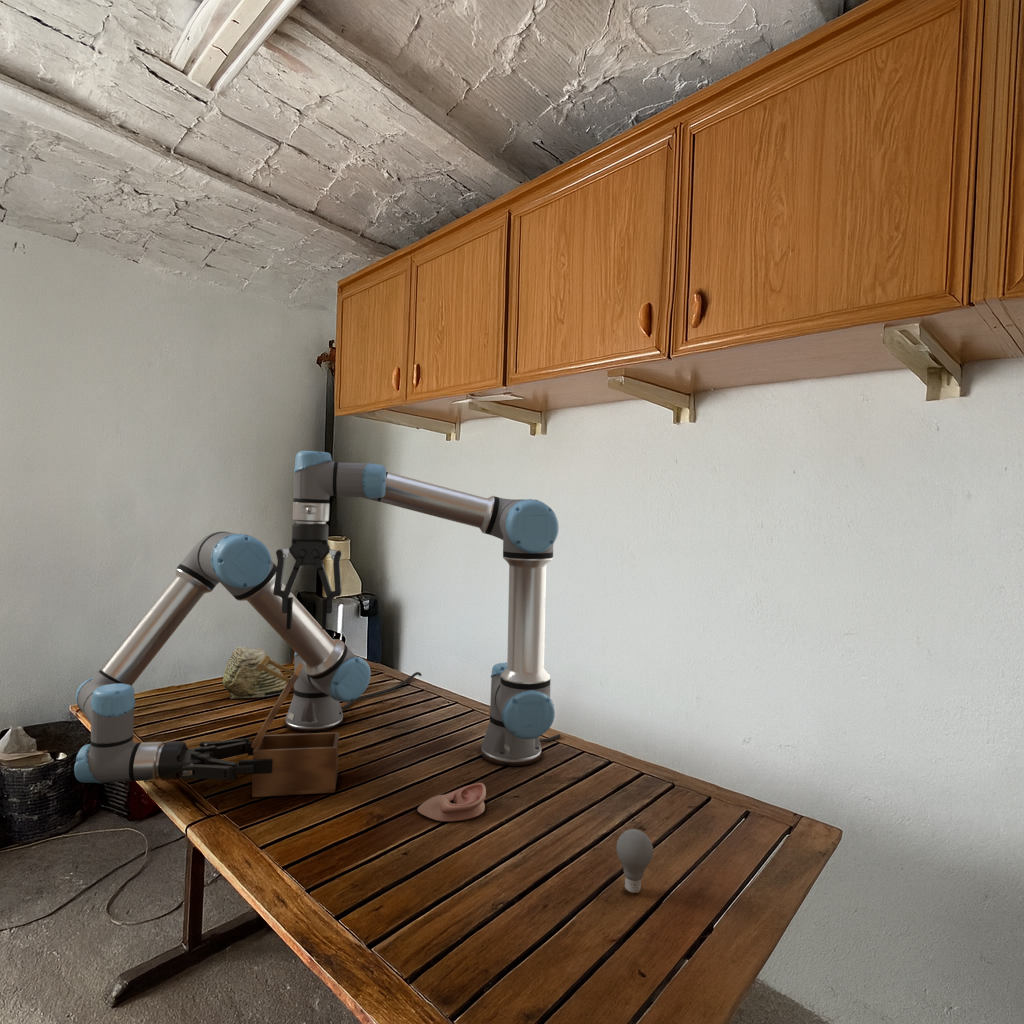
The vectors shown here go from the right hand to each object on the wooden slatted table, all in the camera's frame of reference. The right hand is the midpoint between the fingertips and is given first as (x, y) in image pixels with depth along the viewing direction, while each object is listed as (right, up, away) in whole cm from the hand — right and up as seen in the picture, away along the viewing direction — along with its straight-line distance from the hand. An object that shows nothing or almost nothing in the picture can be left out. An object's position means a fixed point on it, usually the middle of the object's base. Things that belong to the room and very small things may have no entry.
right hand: (306, 627), depth 138 cm
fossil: (-36, -32, +60) cm, 77 cm away
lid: (-5, -17, -1) cm, 18 cm away
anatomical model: (+32, -36, -7) cm, 49 cm away
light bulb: (+65, -38, -32) cm, 82 cm away
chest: (-2, -34, +1) cm, 35 cm away
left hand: (-7, -28, 0) cm, 29 cm away
